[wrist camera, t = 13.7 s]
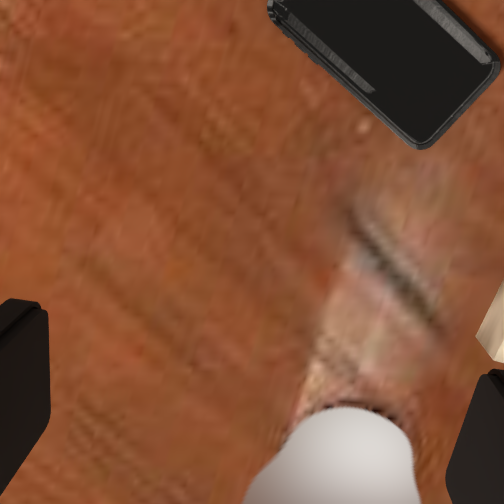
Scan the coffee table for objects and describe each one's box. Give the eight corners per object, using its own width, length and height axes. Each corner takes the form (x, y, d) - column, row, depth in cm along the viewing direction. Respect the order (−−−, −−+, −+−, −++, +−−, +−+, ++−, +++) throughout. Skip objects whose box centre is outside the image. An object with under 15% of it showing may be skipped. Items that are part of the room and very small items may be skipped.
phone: (340, -100, 29) (508, 65, 32) (338, -93, 30) (501, 66, 33) (258, 10, 32) (420, 158, 34) (259, 13, 33) (416, 156, 35)
